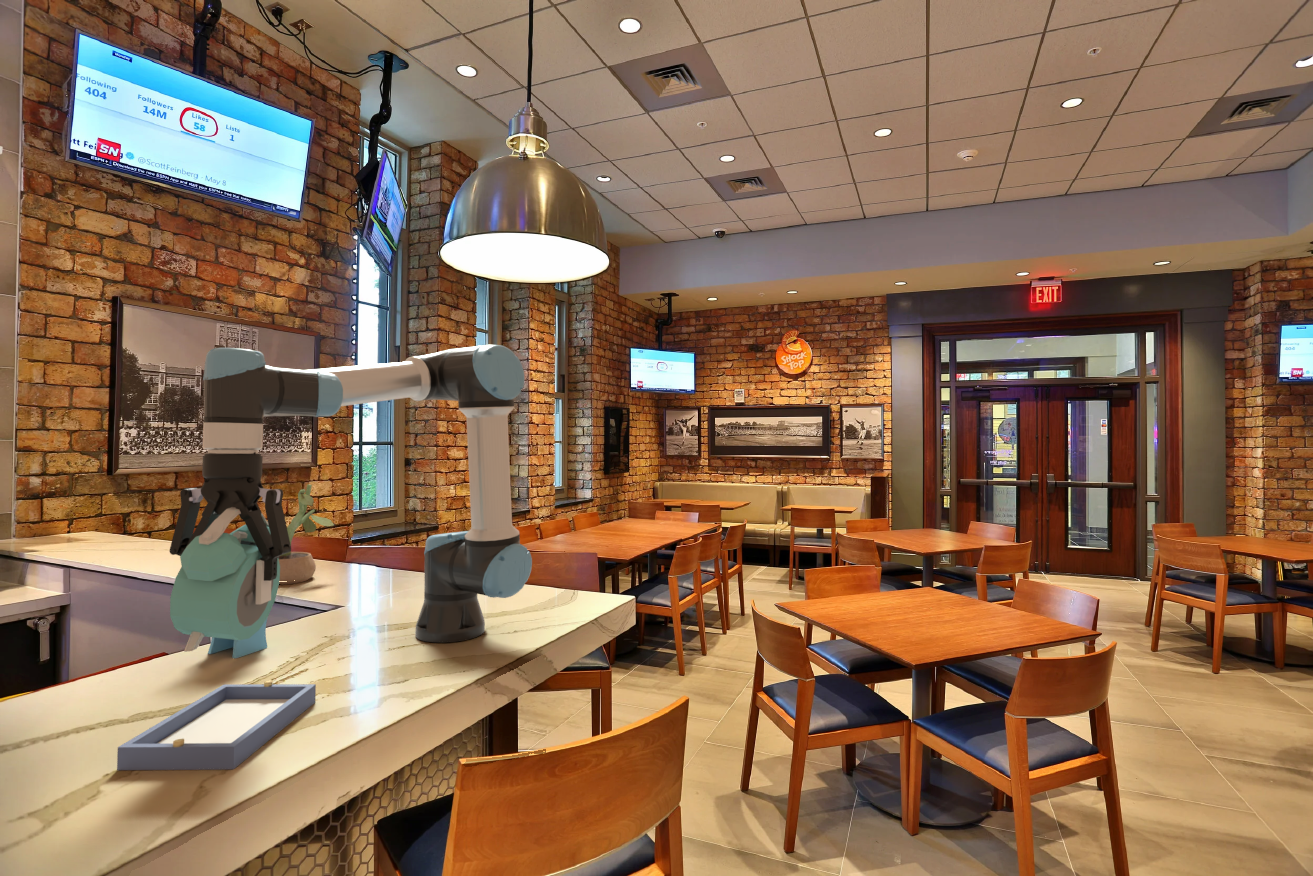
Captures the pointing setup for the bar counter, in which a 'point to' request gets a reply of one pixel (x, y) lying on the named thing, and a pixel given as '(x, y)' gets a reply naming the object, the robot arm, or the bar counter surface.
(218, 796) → the bar counter surface
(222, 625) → the alarm clock
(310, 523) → the potted plant
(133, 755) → the shallow rectangular tray
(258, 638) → the vase
